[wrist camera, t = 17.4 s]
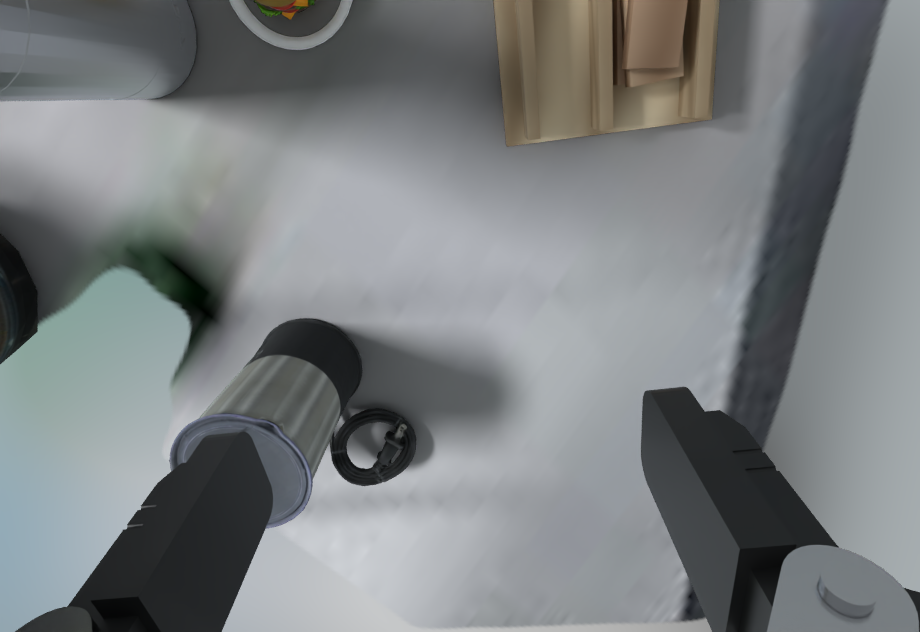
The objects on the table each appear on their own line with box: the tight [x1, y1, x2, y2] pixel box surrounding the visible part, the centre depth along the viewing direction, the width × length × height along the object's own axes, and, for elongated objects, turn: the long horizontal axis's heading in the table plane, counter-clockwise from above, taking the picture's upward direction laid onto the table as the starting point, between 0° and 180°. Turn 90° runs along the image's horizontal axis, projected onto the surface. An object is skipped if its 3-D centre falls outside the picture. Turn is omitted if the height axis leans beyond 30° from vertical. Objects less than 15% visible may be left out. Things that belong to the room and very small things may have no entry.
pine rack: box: [493, 0, 720, 147], centre depth 32 cm, size 14×12×4 cm
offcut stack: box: [612, 0, 688, 87], centre depth 31 cm, size 4×6×4 cm, turn 7°
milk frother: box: [169, 319, 416, 528], centre depth 40 cm, size 14×16×15 cm
